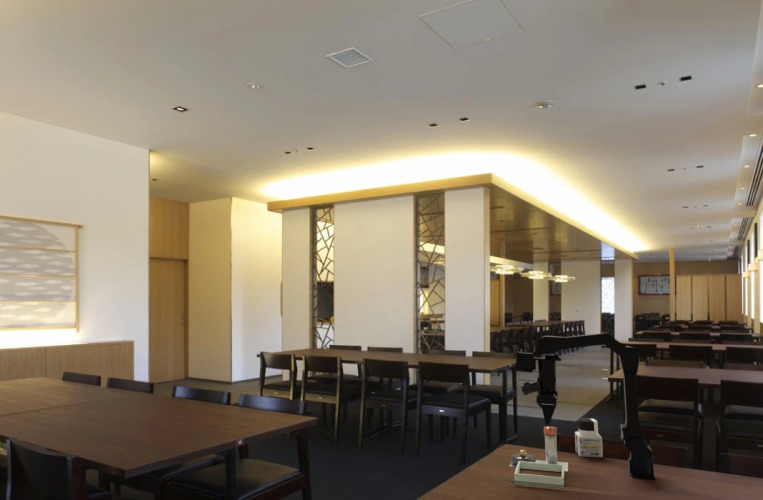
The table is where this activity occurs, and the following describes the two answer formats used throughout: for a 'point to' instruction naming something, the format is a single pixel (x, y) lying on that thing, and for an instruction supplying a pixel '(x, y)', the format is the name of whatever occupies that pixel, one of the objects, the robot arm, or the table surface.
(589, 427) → the container
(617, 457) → the table surface
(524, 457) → the plate
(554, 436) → the glass spice jar
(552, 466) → the tray
